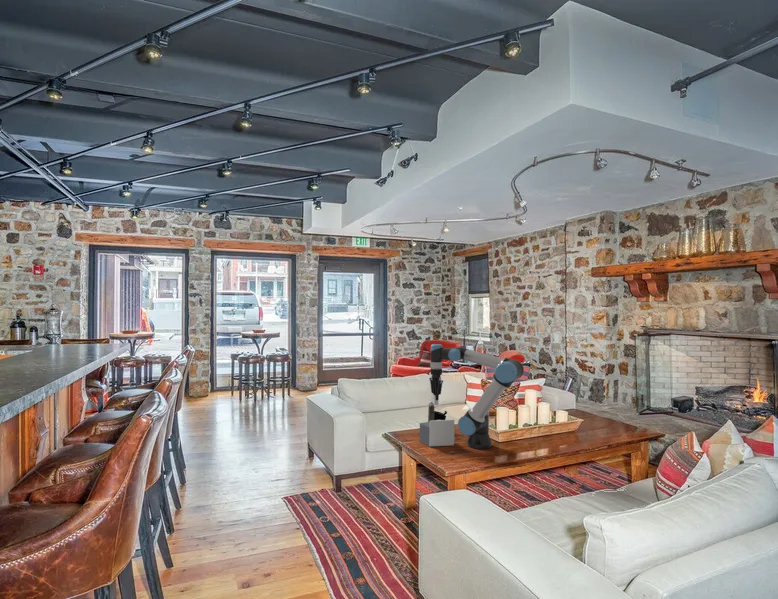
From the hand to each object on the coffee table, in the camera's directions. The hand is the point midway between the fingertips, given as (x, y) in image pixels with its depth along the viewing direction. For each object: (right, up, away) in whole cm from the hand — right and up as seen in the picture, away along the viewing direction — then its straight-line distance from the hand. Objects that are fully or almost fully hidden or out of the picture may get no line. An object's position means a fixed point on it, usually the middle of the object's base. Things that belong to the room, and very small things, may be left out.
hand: (435, 404), depth 300 cm
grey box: (0, -25, +3) cm, 25 cm away
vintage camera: (+5, -26, +28) cm, 38 cm away
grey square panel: (+3, -25, -5) cm, 25 cm away
